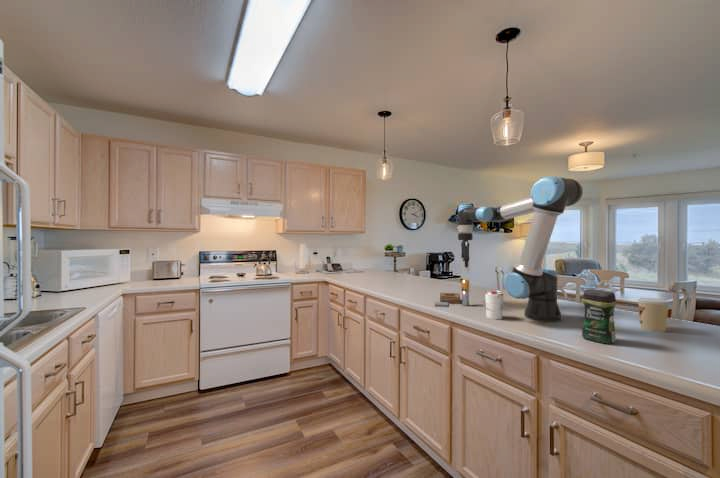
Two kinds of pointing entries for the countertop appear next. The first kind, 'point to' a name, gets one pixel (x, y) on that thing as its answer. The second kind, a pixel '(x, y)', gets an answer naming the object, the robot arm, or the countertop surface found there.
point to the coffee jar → (599, 316)
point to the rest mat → (441, 304)
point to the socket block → (450, 298)
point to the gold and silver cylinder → (465, 292)
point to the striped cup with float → (494, 304)
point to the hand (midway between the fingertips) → (465, 271)
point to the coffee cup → (653, 314)
